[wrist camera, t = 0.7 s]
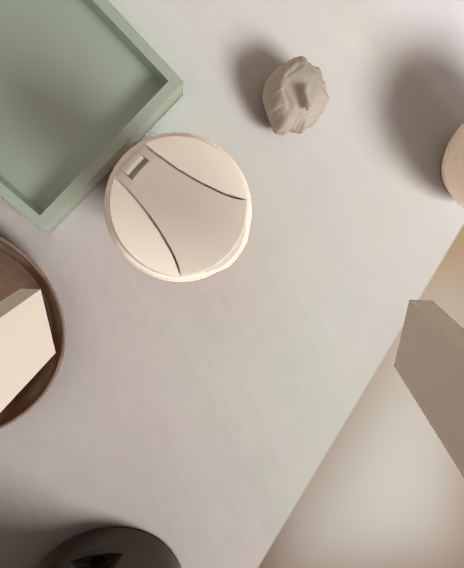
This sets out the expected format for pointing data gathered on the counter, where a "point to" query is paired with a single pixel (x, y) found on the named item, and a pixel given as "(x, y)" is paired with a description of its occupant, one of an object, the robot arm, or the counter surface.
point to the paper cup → (178, 207)
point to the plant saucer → (27, 275)
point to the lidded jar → (454, 166)
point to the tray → (72, 101)
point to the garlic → (294, 96)
